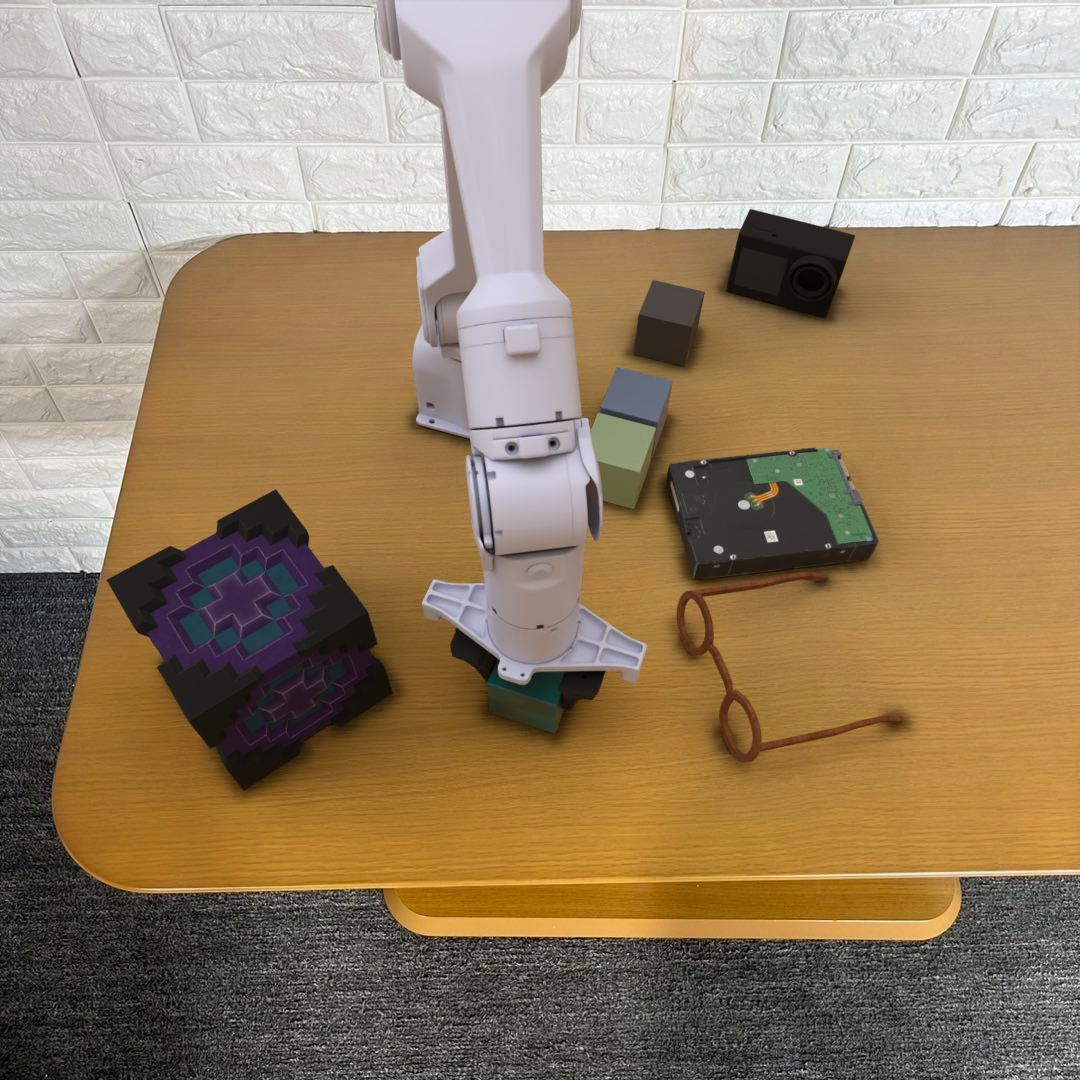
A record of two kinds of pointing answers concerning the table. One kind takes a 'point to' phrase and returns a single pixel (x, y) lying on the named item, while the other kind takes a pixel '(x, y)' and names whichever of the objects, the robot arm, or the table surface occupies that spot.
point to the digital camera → (788, 262)
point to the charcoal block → (668, 322)
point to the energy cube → (255, 637)
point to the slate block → (638, 399)
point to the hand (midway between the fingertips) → (533, 685)
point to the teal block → (527, 699)
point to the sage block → (622, 457)
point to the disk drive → (769, 512)
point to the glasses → (730, 693)
